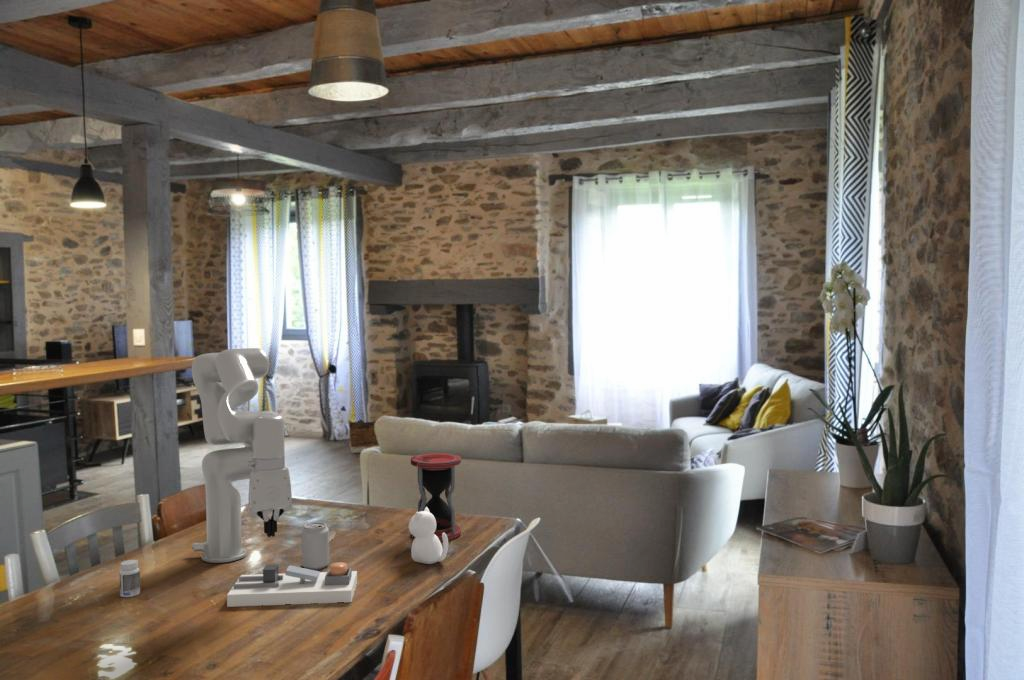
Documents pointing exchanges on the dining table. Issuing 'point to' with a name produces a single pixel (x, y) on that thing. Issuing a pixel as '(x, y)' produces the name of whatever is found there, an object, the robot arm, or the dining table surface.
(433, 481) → the hourglass
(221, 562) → the robot arm
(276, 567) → the slider
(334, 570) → the button
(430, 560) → the cat figurine
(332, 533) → the jawbone
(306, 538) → the can
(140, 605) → the dining table surface
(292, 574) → the slate rocker
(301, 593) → the panel
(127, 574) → the pill bottle
